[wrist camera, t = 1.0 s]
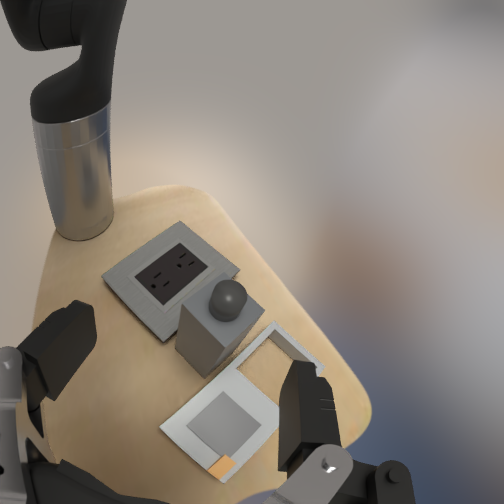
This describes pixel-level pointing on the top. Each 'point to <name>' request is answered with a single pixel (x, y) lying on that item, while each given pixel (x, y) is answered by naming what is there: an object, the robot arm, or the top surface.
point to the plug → (215, 323)
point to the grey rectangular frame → (232, 412)
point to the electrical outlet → (166, 276)
